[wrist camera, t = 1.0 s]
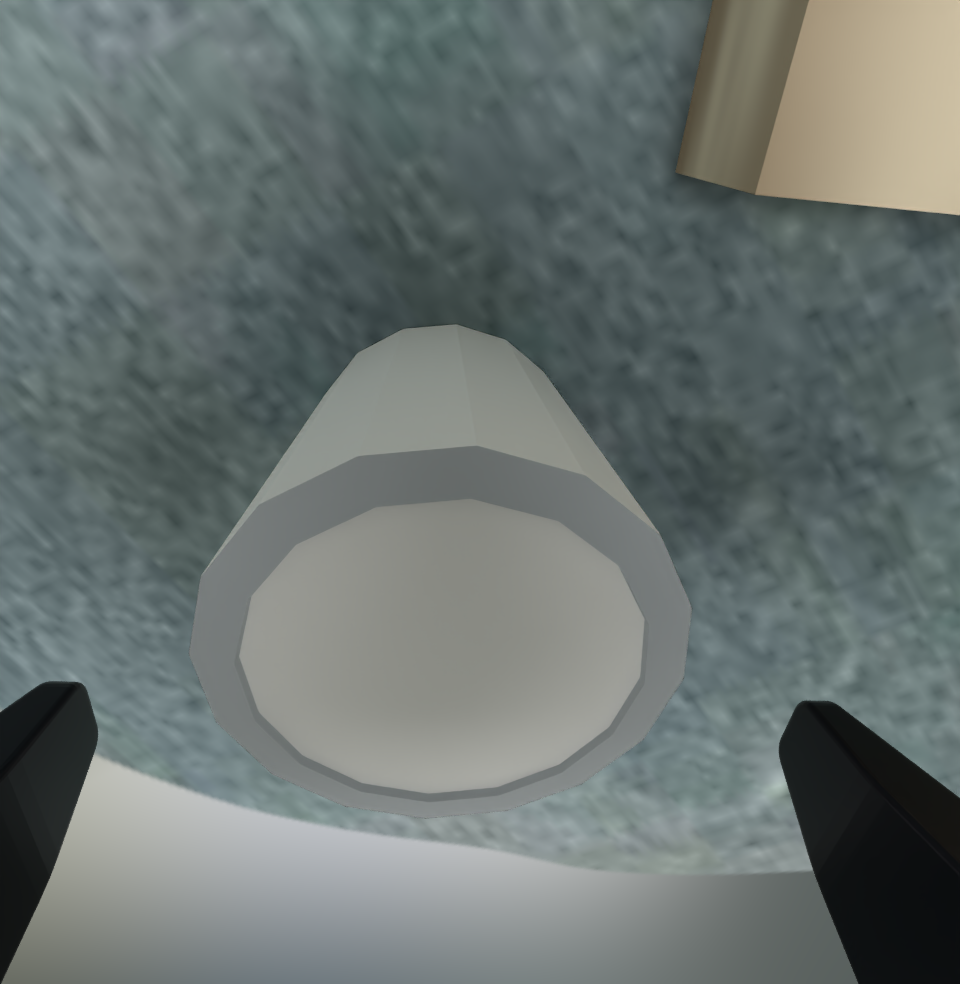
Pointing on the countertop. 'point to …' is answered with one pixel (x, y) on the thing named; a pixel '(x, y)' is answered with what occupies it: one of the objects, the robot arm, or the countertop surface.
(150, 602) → the countertop surface
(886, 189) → the birch block
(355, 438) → the shot glass
